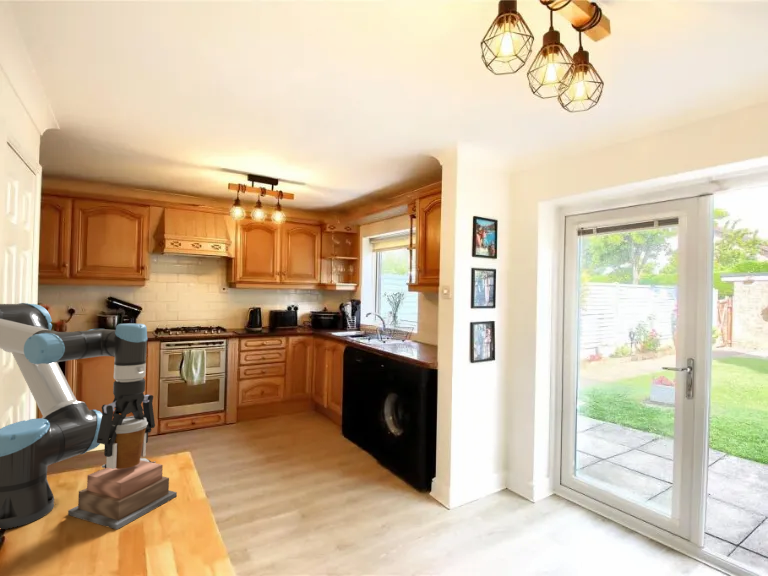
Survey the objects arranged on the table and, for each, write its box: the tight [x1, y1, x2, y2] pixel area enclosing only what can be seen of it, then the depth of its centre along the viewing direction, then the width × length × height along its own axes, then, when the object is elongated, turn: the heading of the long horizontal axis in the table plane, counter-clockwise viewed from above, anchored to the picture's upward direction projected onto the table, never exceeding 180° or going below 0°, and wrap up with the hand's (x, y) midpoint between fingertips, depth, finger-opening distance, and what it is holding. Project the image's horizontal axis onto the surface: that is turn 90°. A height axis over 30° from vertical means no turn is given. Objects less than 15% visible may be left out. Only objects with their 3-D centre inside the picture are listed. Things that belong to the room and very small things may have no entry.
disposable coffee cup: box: [113, 415, 148, 469], centre depth 111 cm, size 10×10×12 cm
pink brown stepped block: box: [67, 460, 178, 530], centre depth 111 cm, size 18×18×10 cm
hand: (126, 461), depth 111 cm, fingers closed on disposable coffee cup, 8 cm apart
